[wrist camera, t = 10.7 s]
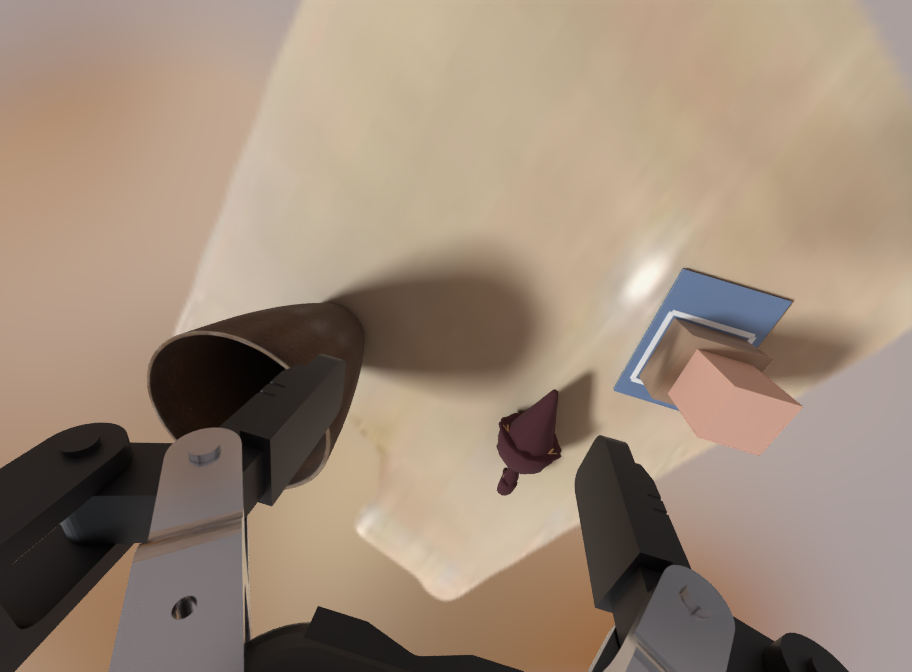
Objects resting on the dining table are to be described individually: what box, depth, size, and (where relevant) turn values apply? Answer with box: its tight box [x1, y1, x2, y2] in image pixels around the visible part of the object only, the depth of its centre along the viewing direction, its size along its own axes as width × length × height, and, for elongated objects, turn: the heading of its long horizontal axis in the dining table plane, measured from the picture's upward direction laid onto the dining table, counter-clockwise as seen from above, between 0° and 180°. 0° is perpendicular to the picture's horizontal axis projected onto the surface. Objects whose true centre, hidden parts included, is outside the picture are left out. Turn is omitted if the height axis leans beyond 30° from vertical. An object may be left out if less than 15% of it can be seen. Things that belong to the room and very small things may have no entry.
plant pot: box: [147, 303, 364, 490], centre depth 34 cm, size 15×15×16 cm
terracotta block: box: [668, 349, 803, 456], centre depth 29 cm, size 5×5×6 cm
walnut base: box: [639, 318, 772, 406], centre depth 34 cm, size 7×7×4 cm
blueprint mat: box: [614, 269, 792, 411], centre depth 35 cm, size 14×10×1 cm
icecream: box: [497, 389, 561, 495], centre depth 39 cm, size 7×7×15 cm
